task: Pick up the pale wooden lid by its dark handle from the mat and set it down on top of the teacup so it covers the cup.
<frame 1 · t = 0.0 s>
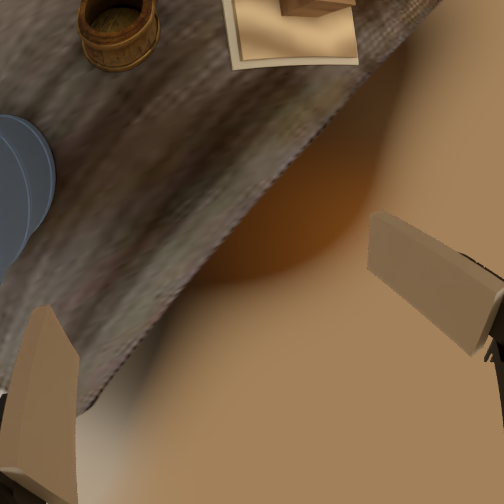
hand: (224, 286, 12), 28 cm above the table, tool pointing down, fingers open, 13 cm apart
water jug: (2, 177, 29), on the table
mat: (290, 2, 31), on the table
wooden mug: (136, 23, 27), on the table
lid: (293, 1, 30), point 1 cm above the table, touching mat
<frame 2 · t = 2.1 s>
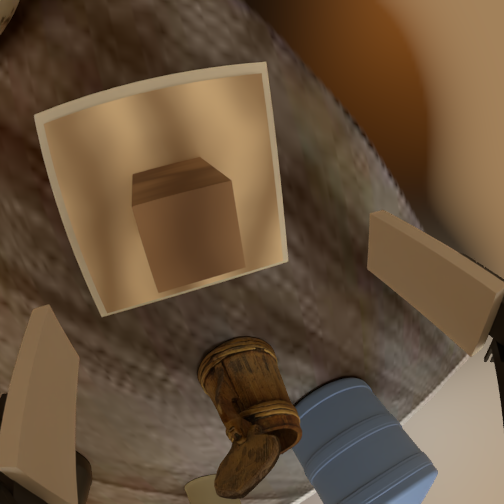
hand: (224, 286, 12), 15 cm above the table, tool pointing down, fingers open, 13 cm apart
water jug: (324, 408, 47), on the table
can: (208, 483, 47), on the table
mat: (170, 191, 24), on the table
wooden mug: (224, 356, 34), on the table
lid: (171, 193, 24), point 1 cm above the table, touching mat
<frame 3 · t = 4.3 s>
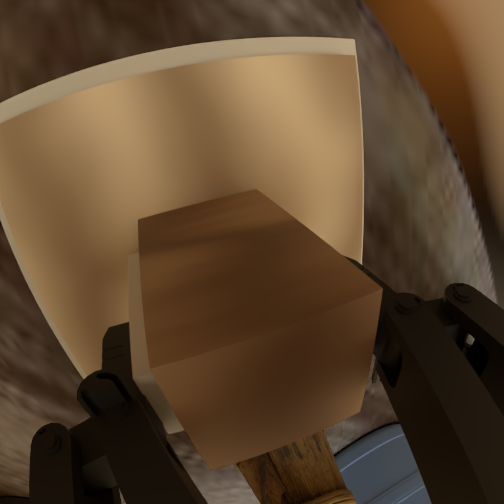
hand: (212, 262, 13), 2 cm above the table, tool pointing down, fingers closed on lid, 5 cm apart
water jug: (359, 454, 38), on the table
mat: (201, 240, 15), on the table
wooden mug: (261, 429, 25), on the table
lid: (203, 245, 15), point 1 cm above the table, touching gripper, mat
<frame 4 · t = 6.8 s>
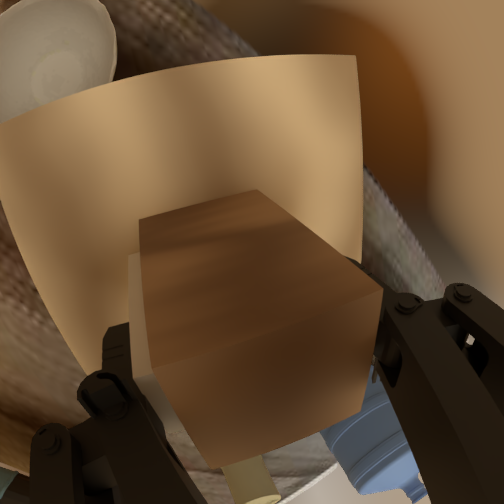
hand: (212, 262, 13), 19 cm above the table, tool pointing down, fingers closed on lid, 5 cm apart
water jug: (339, 389, 57), on the table
can: (240, 460, 58), on the table
lid: (204, 245, 15), point 17 cm above the table, touching gripper
teacup: (51, 87, 22), on the table
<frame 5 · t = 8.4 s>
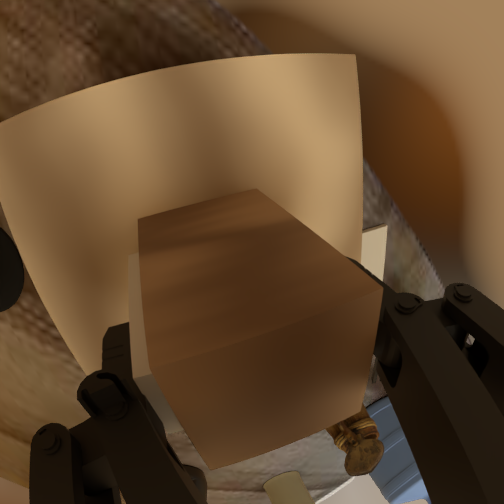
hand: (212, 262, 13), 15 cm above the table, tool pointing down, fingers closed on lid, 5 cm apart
water jug: (371, 416, 61), on the table
can: (280, 479, 62), on the table
mat: (322, 307, 39), on the table
wooden mug: (325, 391, 48), on the table
lid: (203, 245, 15), point 14 cm above the table, touching gripper
when the fingers open (11 cm above the table, at t = 9.7 s): lid drops 2 cm, resting on teacup.
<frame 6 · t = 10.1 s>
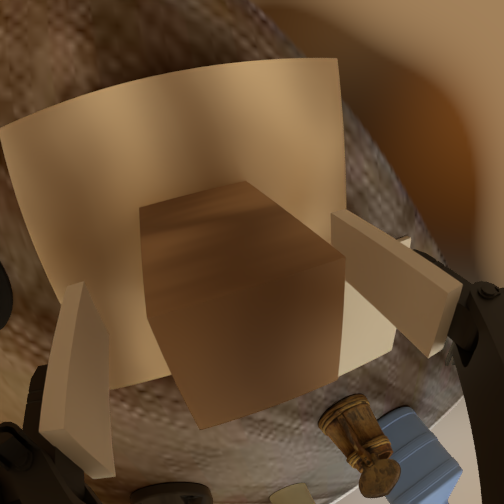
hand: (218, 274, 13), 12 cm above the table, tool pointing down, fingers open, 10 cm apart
water jug: (381, 428, 58), on the table
can: (287, 491, 59), on the table
mat: (340, 325, 35), on the table
wooden mug: (337, 407, 45), on the table
lid: (198, 233, 16), point 8 cm above the table, touching teacup
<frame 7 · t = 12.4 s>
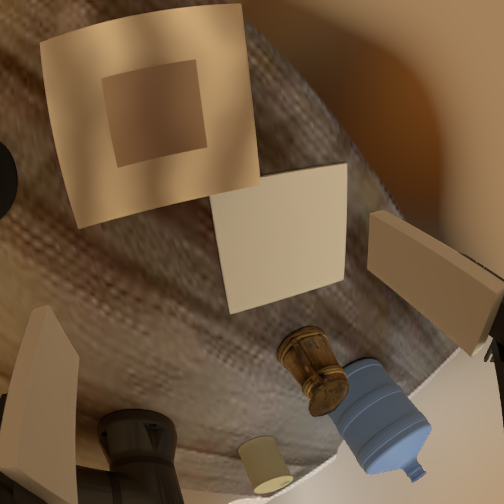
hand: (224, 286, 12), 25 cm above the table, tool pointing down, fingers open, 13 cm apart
water jug: (349, 381, 65), on the table
can: (256, 445, 66), on the table
mat: (285, 239, 42), on the table
wooden mug: (295, 339, 52), on the table
lid: (150, 108, 23), point 8 cm above the table, touching teacup
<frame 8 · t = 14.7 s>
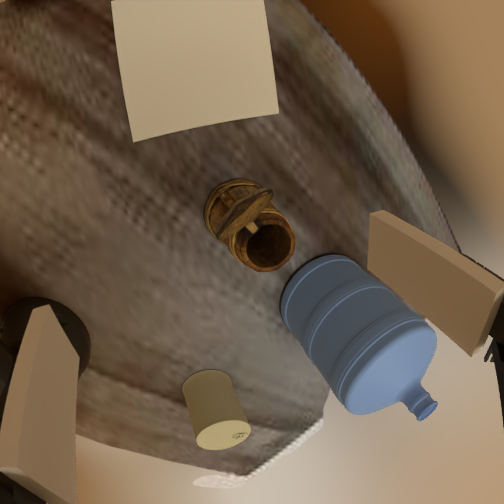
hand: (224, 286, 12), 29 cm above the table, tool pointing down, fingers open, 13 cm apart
water jug: (320, 293, 54), on the table
can: (206, 385, 55), on the table
mat: (196, 53, 32), on the table
wooden mug: (227, 198, 41), on the table
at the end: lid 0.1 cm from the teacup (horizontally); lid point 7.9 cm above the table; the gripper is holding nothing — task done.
